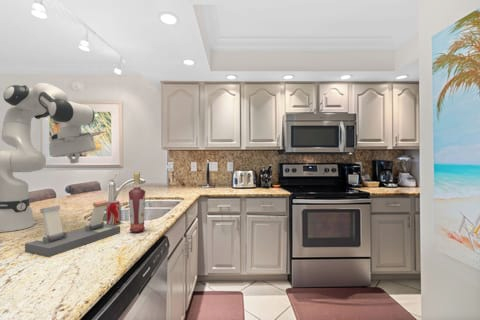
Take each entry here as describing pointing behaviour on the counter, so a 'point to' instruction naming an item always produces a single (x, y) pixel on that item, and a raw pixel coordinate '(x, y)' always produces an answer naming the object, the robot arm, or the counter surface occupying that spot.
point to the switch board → (70, 240)
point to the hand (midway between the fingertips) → (74, 163)
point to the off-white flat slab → (98, 214)
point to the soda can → (113, 213)
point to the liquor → (137, 206)
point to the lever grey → (52, 222)
